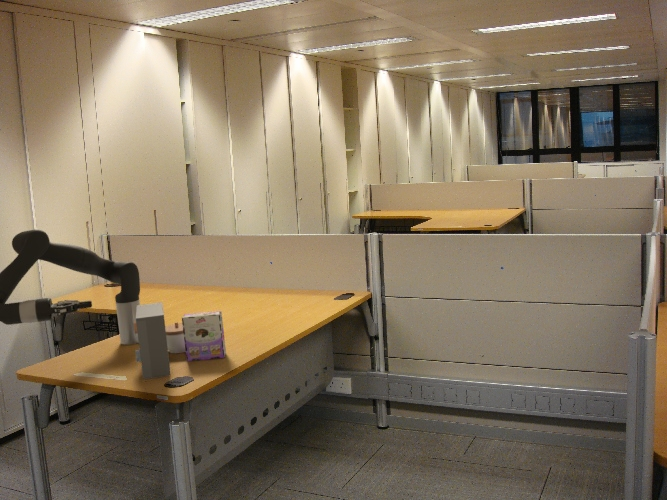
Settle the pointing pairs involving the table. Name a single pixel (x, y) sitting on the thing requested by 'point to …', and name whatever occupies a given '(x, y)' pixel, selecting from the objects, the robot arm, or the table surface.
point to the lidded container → (175, 338)
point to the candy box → (204, 336)
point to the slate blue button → (138, 355)
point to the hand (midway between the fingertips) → (91, 303)
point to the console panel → (152, 340)
